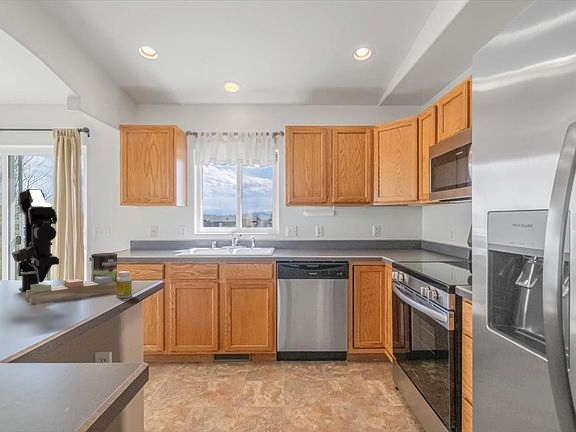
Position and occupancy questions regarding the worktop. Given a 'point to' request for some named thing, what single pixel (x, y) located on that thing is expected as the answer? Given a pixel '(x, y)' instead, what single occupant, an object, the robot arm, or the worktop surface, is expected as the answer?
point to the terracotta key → (73, 283)
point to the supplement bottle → (124, 285)
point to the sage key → (40, 287)
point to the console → (69, 292)
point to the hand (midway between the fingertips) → (40, 282)
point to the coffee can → (104, 265)
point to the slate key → (102, 279)
